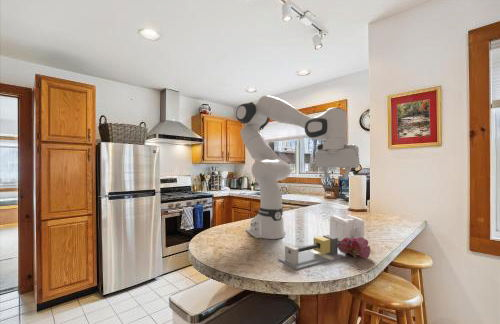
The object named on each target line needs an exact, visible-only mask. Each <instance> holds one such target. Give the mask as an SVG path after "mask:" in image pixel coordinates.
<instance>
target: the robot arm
mask: <svg viewBox="0 0 500 324" xmlns="http://www.w3.org/2000/svg"><path fill="white" fill-rule="evenodd" d="M235 117H236V119H237V121H238V122H240V123H242V124H243V125H244V126H243V127H242V128H241V130H240V136H241V140H242V142H243V144H244V146H245V148H246V150H247V151H248V153H249V155H250V157H251V158H252V159H253V160H254V163H253V164H252V165H251V174H252V177H253V178H254V179H255V180H256V182H257V184H258V185H257V186H258V188H259V193H260V202H259V203H260V206H259V207H258V208H257V211H258V213H257V215H255V216H254V217H253V218H252V219H251V220H250V227H247V228H246V229H245V231H246V232H247V233H248V234H250V235H251V236H253V237H254V238H255V239H266V240H267V239H268V240H269V239H270V240H276V239H281V238H282V239H283V238H285V234H286V231H285V226H284V223H285V222H284V218H283V213H284V211H283V205H282V204H283V193H282V191H281V189H279V186H278V181H283V180H285V179H287V178H288V177H289V176H290V173H291V166H290V164H289V163H288V162H286V161H284V159H282V158H281V157H280V156H279V154H278V153H276V152H275V151H274V150H273V149H272V148H271V147H270V145H269V143H268V142H267V140H266V139H265V137H264V136H263V134H262V133H261V130H264V129H265V127H266V126H267V125H268V124H269V123H270V120H272V121H274V122H278V123H280V124H281V123H282V124H286V125H287V124H288V125H293V126H298V127H301V128H303V129H304V132H305V136H307V137H308V138H310V139H314V140H317V141H321V143H319V144H318V145H316V149H315V150H316V152H315V167H317V168H321V169H322V173H323V174H324V175H323V177H324V178H325V179H326V178H330V177H331V176H330V175H331V174H330V173H329V172H328V169H329V168H344V171H345V172H344V173H343V174H342V179H343V180H348V179H349V174H350V173H351V171H352V169H353V168H354V169H355V168H357V169H358V168H359V167H360V155H359V150H360V149H359V147H358V146H357V145H355V144H348V135H347V131H348V127H349V125H348V124H349V121H348V115H347V111H346V110H344V109H342V108H339V107H329V108H327V109H326V111H324V112H323V113H321V114H320V115H317V116H314V117H311V116H309V115H307V114H305V113H302V112H301V111H299V110H298V109H297V108H296V107H294V106H293V105H291V104H290V103H288V102H287V101H285V100H284V99H281V98H278V97H275V96H271V95H263V96H261V97H260V98H259V99H258V101H257V102H256V103H254V102H253V101H251V102H246V103H242V104H239V105H238V106H237V108H236V110H235Z"/></svg>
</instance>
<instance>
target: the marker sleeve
mask: <svg viewBox="0 0 500 324" xmlns="http://www.w3.org/2000/svg"><path fill="white" fill-rule="evenodd" d="M317 243H320V247H319V248H315V249H312V251H313V250H315V251H317V252H320V253H322V254H325V253H329V252H330V239H327V238H324V237H323V236H321V235H320V236H316V237H315V236H314V237H313V244H317Z"/></svg>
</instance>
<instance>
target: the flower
mask: <svg viewBox="0 0 500 324" xmlns="http://www.w3.org/2000/svg"><path fill="white" fill-rule="evenodd" d="M338 251H340V252H341V253H344V254H345V255H346V254H350V255H351V256H353V257H354V258H355V261H356V262H355V263H357V262H358V261H357V260H356V257H357V255H358V256H359V257H360V258H362V259H368V258H369V257H370V255H371V246H370V245H369V240H368V239H365V237H364V238H363V237H359V238H352V239H349V238H344V239H343V240H342V241H338Z"/></svg>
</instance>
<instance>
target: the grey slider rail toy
mask: <svg viewBox="0 0 500 324" xmlns="http://www.w3.org/2000/svg"><path fill="white" fill-rule="evenodd" d="M322 237H324V238H327V239H330V252H329V253H325V254H322V253H320V252H317V251H315V250H313V249H315V248H319V247H320V243H317V244H314V243H313V244H309V245H304V246H299V247H294V246H293V245H290V244H287V245H285V246H284V256H283V257H279V258H278V261H280V262H281V263H283V264H285V265H287V266H288V267H290V268H292V269H294V270H295V271H298V270H302V269H305V268H309V267H313V266H316V265H320V264H323V263H326V262H330V261H334V260H338V259H341V258H342V259H343V258H344V256H345V255H344V254H341V253H339V252H338V251H339V249H338V243H339V241H338V238H337V237H334V236H330V234H326V235H325V234H324V235H323V236H322Z"/></svg>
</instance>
